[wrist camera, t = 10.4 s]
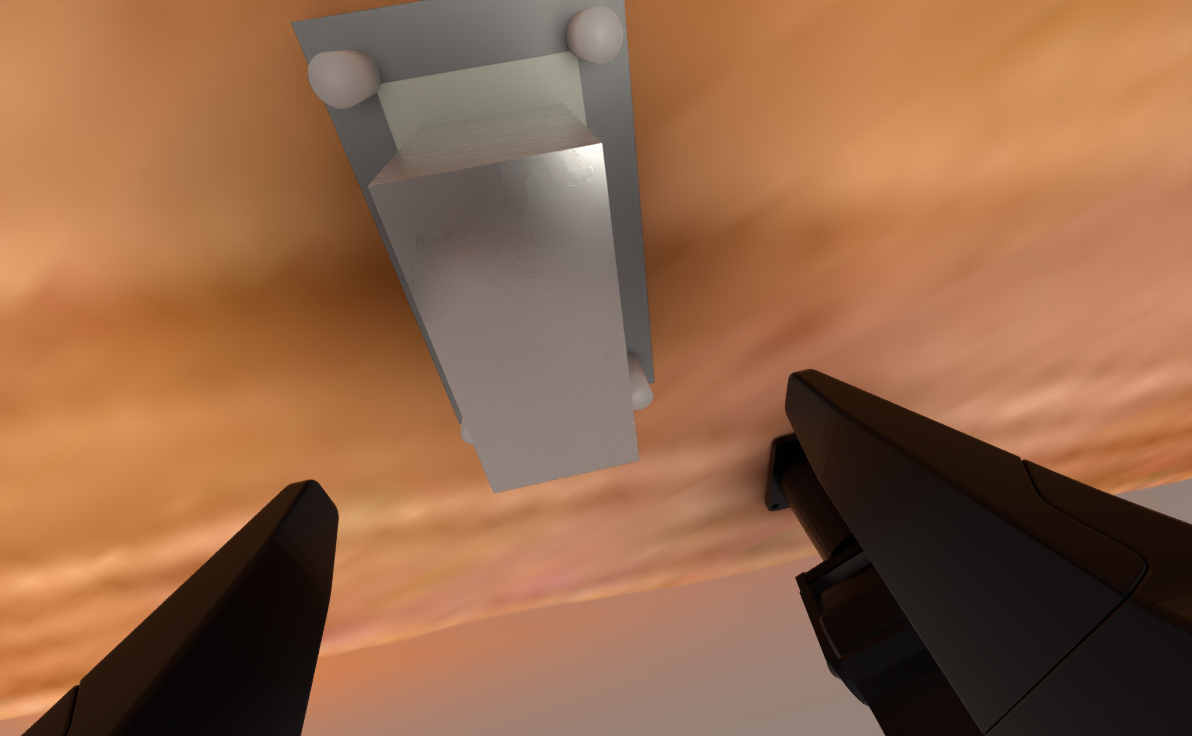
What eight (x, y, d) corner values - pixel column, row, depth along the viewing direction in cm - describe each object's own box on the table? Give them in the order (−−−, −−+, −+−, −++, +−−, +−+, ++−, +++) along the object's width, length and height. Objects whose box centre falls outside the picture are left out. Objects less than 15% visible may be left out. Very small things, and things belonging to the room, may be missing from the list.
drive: (599, 341, 20) (639, 460, 14) (492, 363, 20) (490, 494, 14) (562, 102, 15) (602, 143, 9) (415, 128, 14) (362, 187, 9)
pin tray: (646, 364, 23) (670, 417, 20) (461, 403, 23) (455, 464, 20) (611, -26, 14) (643, -44, 11) (308, 23, 14) (251, 19, 11)
